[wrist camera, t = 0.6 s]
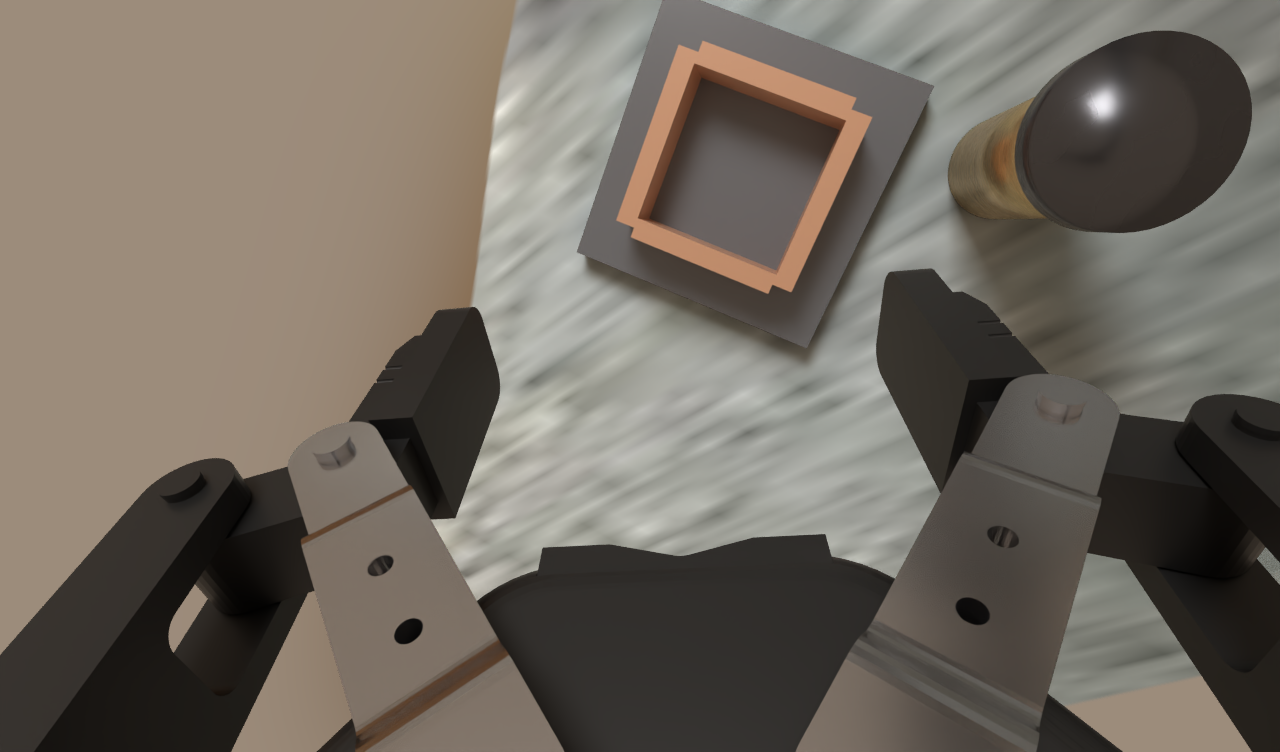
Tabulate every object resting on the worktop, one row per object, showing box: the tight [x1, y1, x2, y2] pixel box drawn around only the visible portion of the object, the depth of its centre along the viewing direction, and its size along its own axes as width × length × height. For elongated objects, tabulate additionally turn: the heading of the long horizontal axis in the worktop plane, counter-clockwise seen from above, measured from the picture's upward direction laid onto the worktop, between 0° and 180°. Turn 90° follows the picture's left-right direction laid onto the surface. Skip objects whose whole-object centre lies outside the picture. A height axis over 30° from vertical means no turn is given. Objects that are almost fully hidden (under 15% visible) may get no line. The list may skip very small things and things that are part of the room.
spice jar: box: [948, 31, 1252, 233], centre depth 25 cm, size 6×6×12 cm
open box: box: [577, 0, 934, 348], centre depth 31 cm, size 14×14×4 cm
